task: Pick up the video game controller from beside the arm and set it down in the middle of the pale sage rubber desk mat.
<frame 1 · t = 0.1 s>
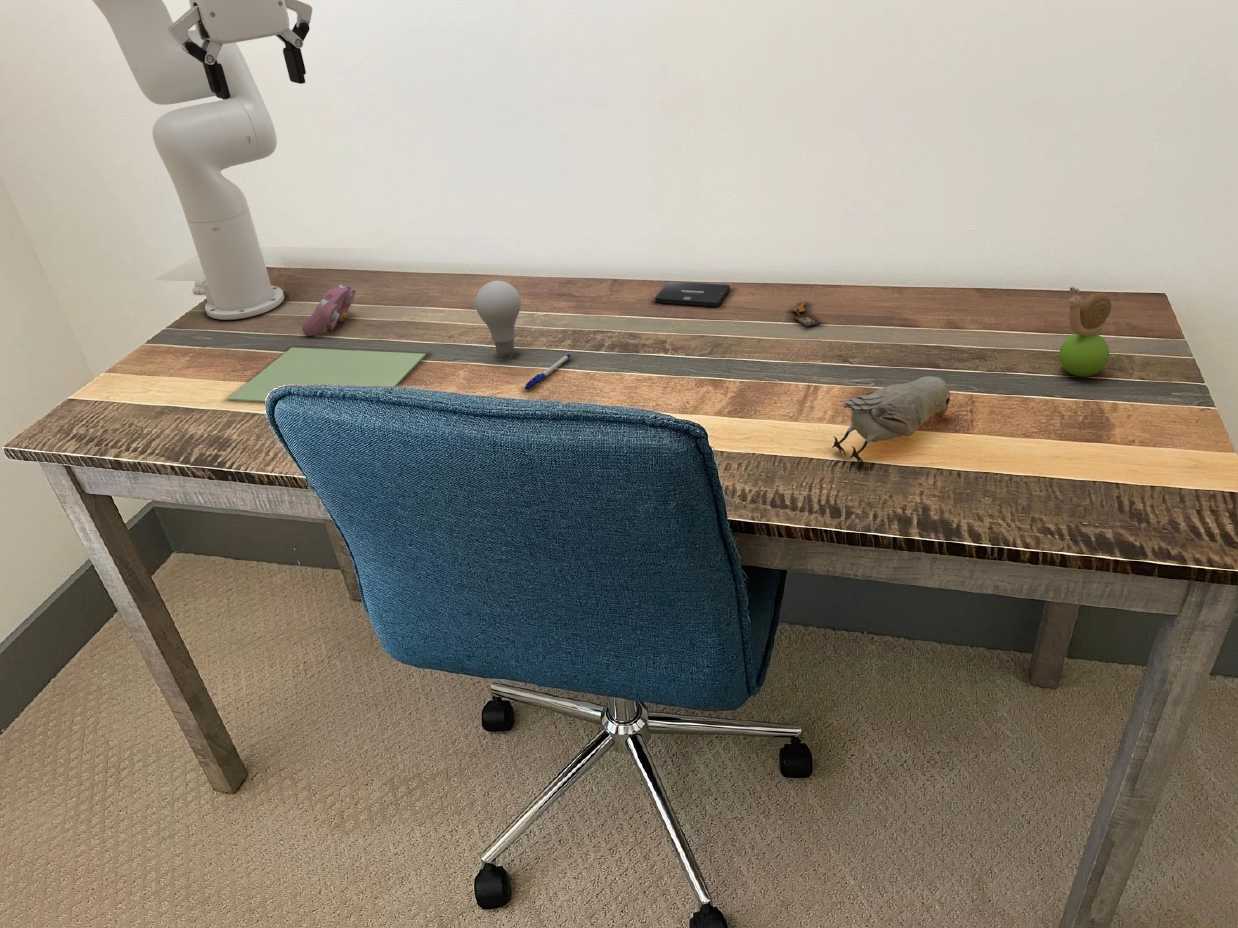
hand: (261, 90, 119), 37 cm above the table, tool pointing down, fingers open, 9 cm apart
snail figurine: (1076, 376, 118), on the table
desk mat: (329, 377, 134), on the table
solid state drive: (692, 296, 148), on the table
video game controller: (334, 326, 151), on the table
lightbulb: (506, 357, 136), on the table
key tag: (807, 316, 139), on the table
decorative bird: (893, 440, 109), on the table
ballpoint pen: (548, 375, 129), on the table
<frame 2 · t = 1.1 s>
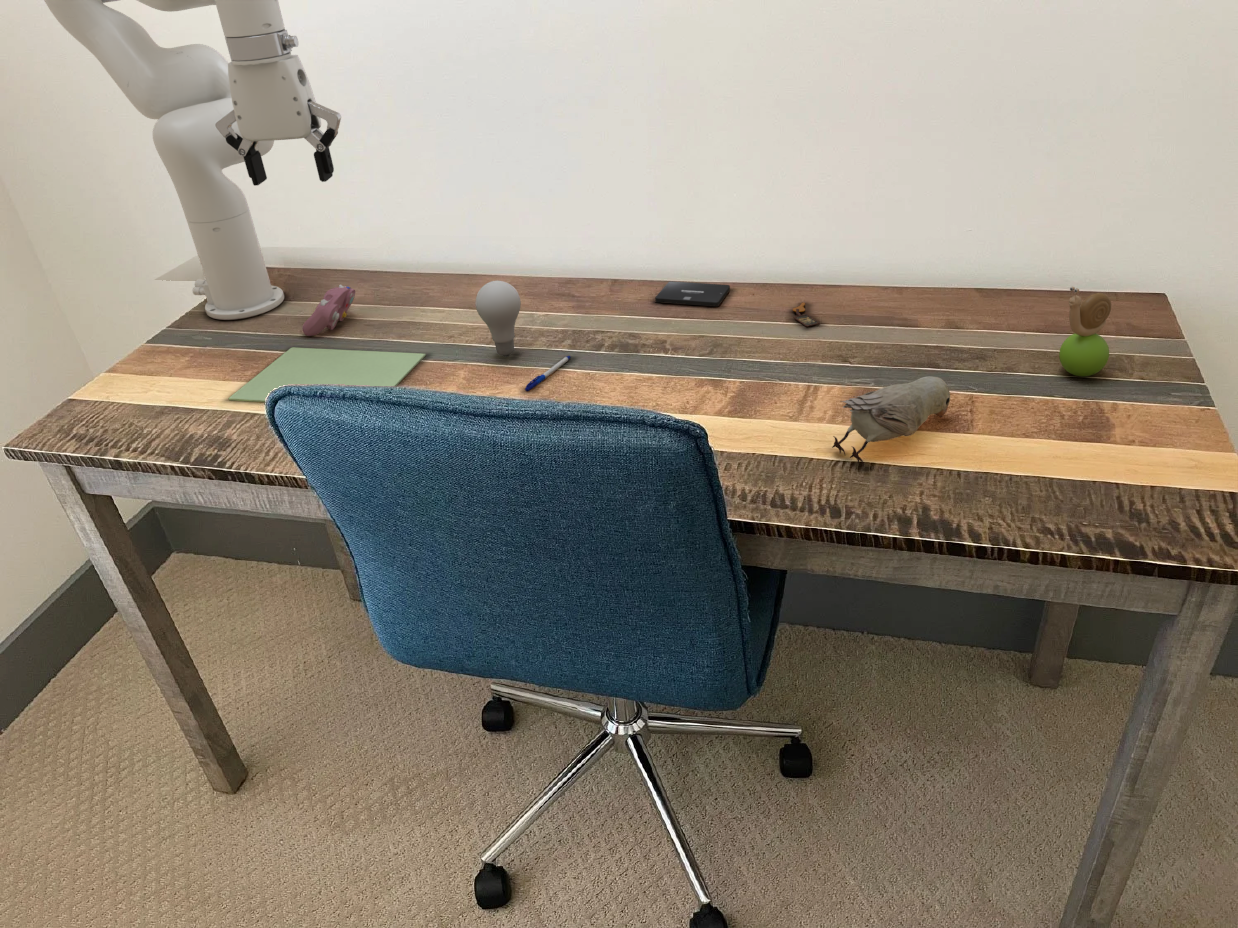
hand: (293, 181, 133), 24 cm above the table, tool pointing down, fingers open, 9 cm apart
nothing on the table moved.
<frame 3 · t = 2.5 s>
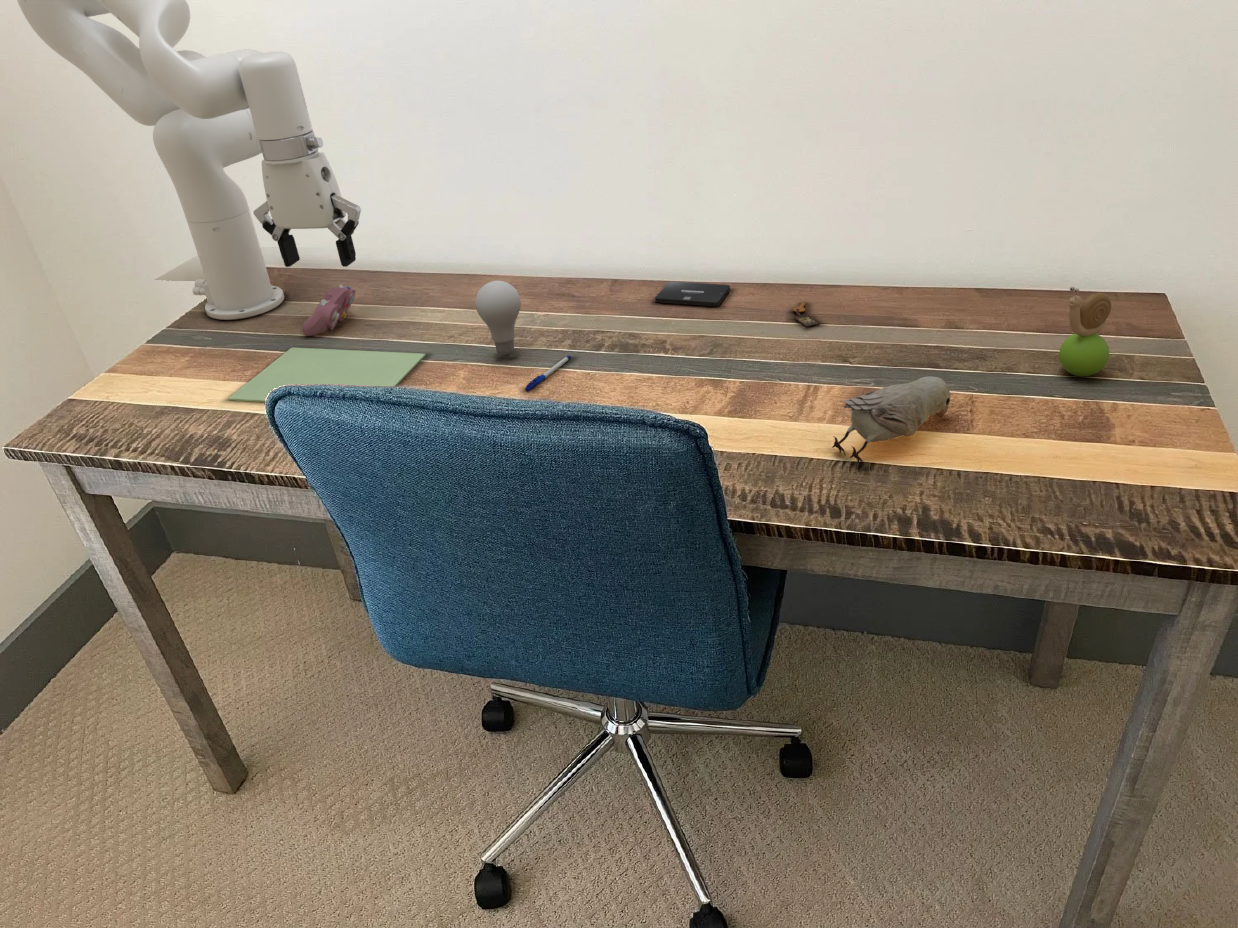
hand: (320, 263, 145), 10 cm above the table, tool pointing down, fingers open, 9 cm apart
nothing on the table moved.
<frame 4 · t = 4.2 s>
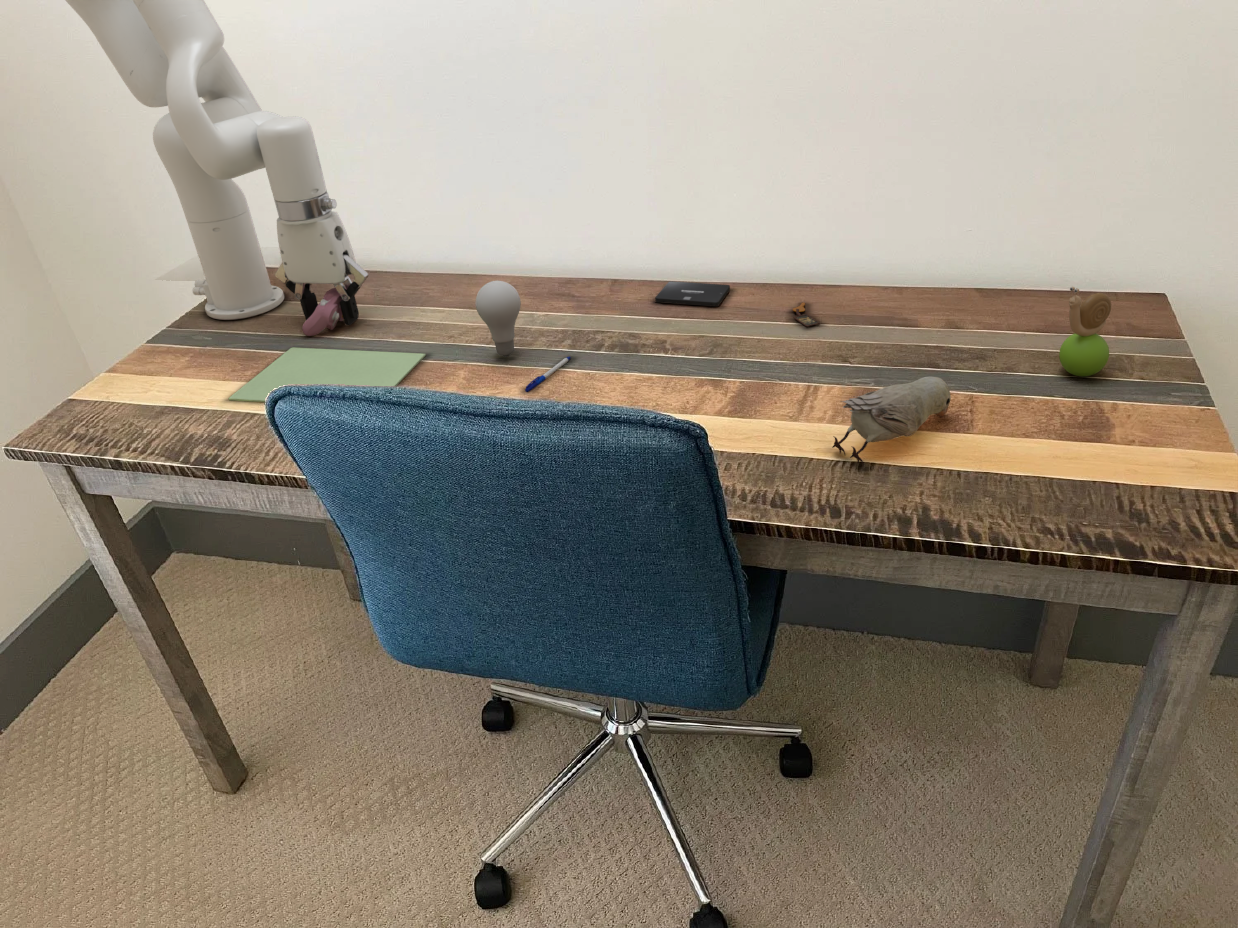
hand: (332, 320, 150), 1 cm above the table, tool pointing down, fingers closed on video game controller, 6 cm apart
video game controller: (334, 326, 151), on the table, touching gripper
everything else where it was.
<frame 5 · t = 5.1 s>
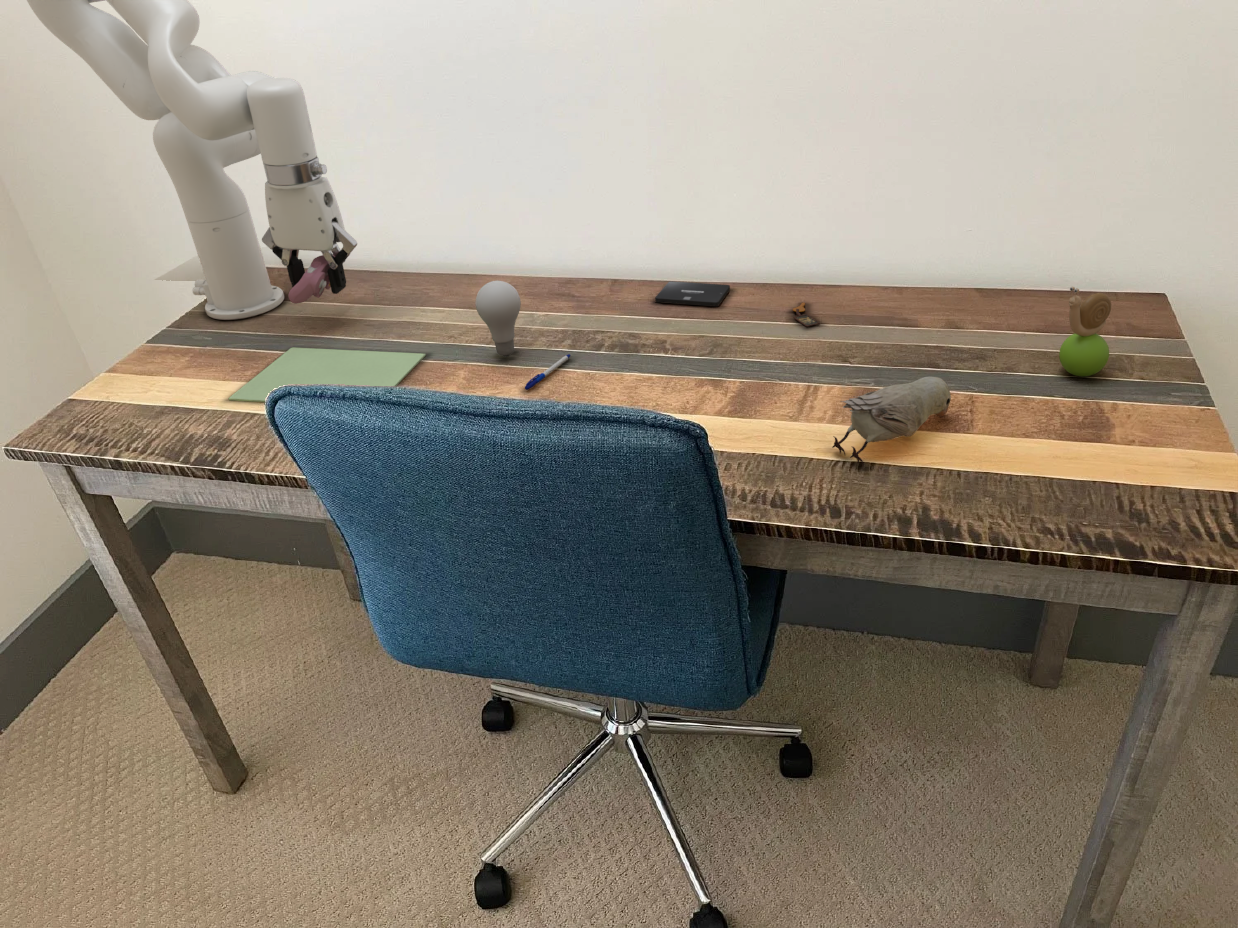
hand: (319, 287, 148), 6 cm above the table, tool pointing down, fingers closed on video game controller, 6 cm apart
video game controller: (321, 294, 148), point 5 cm above the table, touching gripper
everything else where it was.
when the fingers open (1 cm above the table, at t = 11.0 s): video game controller stays where it is, resting on desk mat.
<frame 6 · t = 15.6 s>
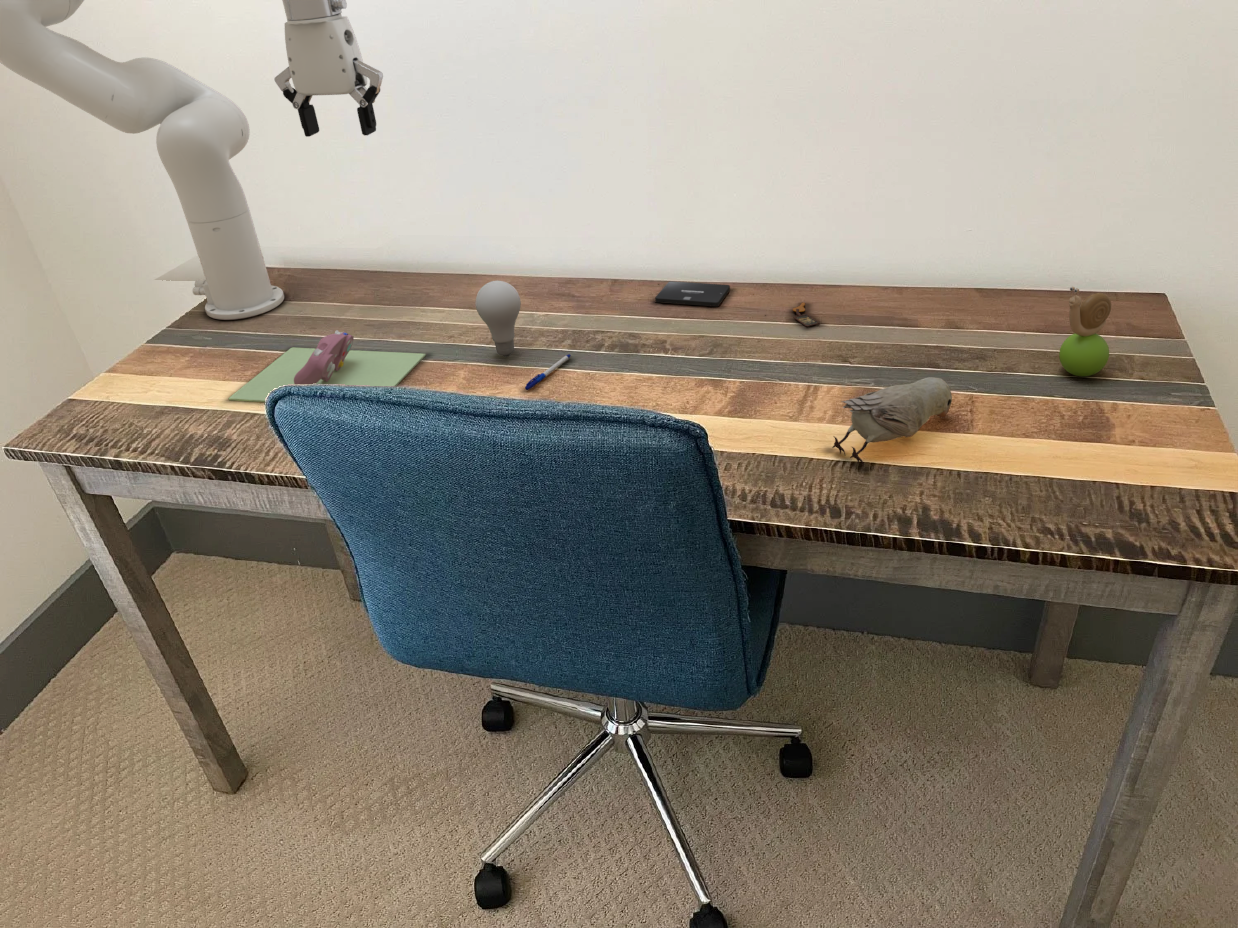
hand: (340, 134, 145), 26 cm above the table, tool pointing down, fingers open, 9 cm apart
video game controller: (329, 376, 134), resting on desk mat
everything else where it was.
at the end: video game controller inside the target area (0.0 cm from its centre), resting on desk mat; video game controller tilted 0°; the gripper is holding nothing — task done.
